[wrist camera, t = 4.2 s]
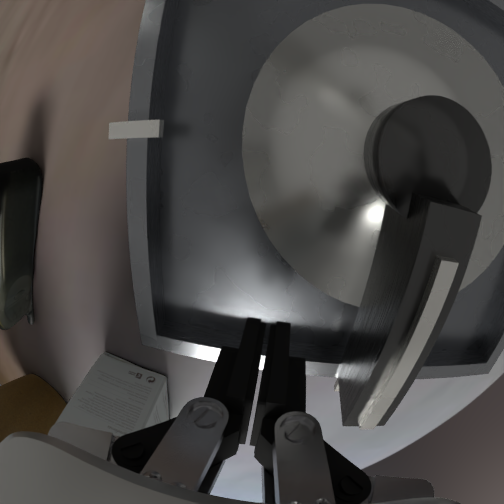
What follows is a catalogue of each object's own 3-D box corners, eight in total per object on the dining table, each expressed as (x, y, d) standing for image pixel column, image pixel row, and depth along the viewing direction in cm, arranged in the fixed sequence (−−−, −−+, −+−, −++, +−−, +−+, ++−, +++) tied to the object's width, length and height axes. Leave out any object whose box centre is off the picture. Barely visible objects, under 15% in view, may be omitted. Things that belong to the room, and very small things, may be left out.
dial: (263, 4, 8) (241, -73, 3) (503, 75, 7) (576, 66, 2) (235, 330, 14) (208, 416, 9) (440, 348, 13) (474, 418, 8)
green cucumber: (-25, 163, 9) (-12, 335, 15) (-6, 178, 10) (8, 355, 15) (28, 152, 14) (20, 308, 20) (52, 165, 14) (40, 325, 20)
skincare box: (103, 348, 19) (2, 491, 5) (173, 375, 19) (90, 552, 5) (117, 406, 22) (53, 521, 9) (173, 428, 22) (121, 557, 8)
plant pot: (108, 444, 28) (64, 529, 13) (35, 405, 29) (-11, 469, 14) (70, 374, 22) (-9, 485, 7) (-4, 332, 23) (-73, 403, 9)
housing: (173, -47, 8) (152, -71, 5) (536, 43, 6) (561, 38, 3) (151, 325, 17) (130, 354, 14) (475, 357, 15) (491, 383, 12)
